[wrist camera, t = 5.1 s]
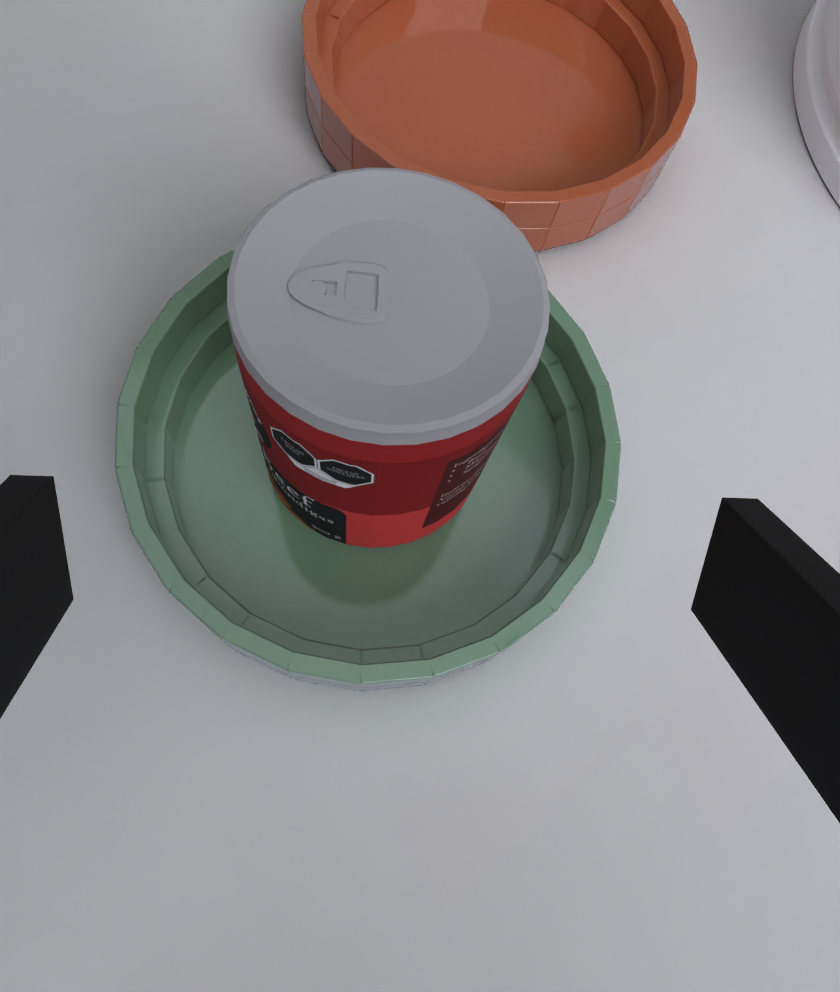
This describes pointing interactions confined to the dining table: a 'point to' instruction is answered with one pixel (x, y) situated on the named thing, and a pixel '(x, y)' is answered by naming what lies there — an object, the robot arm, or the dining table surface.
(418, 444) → the canned food
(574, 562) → the sage bowl
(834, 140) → the plate stack
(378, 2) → the terracotta bowl
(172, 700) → the dining table surface
